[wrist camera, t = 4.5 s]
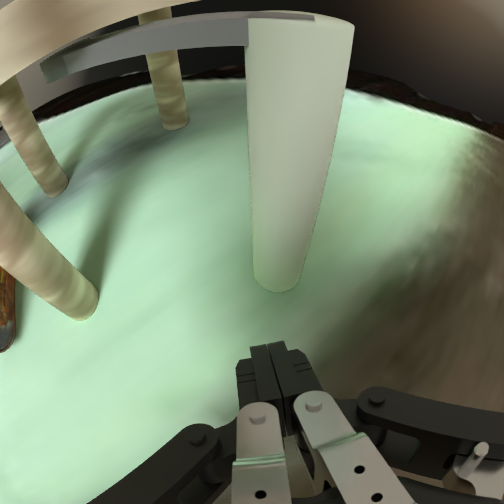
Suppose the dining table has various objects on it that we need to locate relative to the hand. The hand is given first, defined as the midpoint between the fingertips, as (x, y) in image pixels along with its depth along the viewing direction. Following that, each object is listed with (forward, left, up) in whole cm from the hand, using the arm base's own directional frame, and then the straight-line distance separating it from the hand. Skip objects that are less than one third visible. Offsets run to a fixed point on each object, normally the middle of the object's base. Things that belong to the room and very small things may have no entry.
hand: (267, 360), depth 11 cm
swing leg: (+2, +9, -6) cm, 11 cm away
